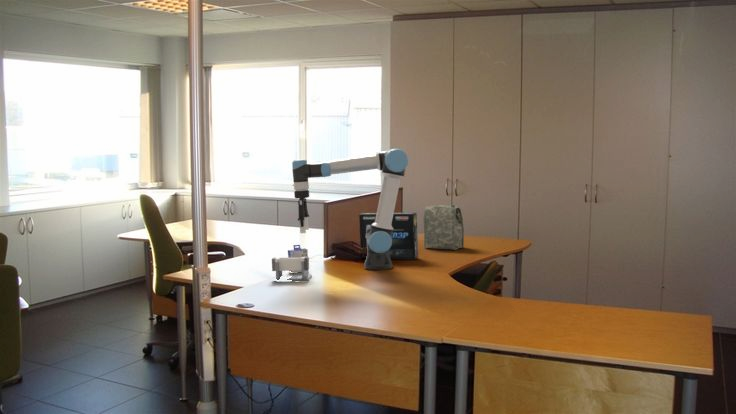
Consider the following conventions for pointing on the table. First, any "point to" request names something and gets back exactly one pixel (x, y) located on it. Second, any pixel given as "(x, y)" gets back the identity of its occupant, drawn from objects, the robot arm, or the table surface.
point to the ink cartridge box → (298, 254)
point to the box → (395, 234)
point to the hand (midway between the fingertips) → (304, 231)
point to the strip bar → (290, 263)
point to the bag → (443, 227)
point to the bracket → (296, 277)
